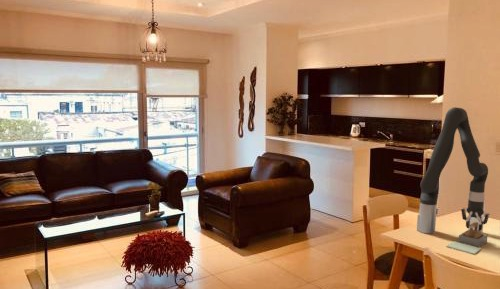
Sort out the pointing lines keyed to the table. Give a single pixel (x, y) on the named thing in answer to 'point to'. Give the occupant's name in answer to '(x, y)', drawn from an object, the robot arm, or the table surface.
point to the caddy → (474, 231)
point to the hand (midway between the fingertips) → (473, 229)
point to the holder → (473, 240)
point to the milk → (476, 219)
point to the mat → (464, 247)
